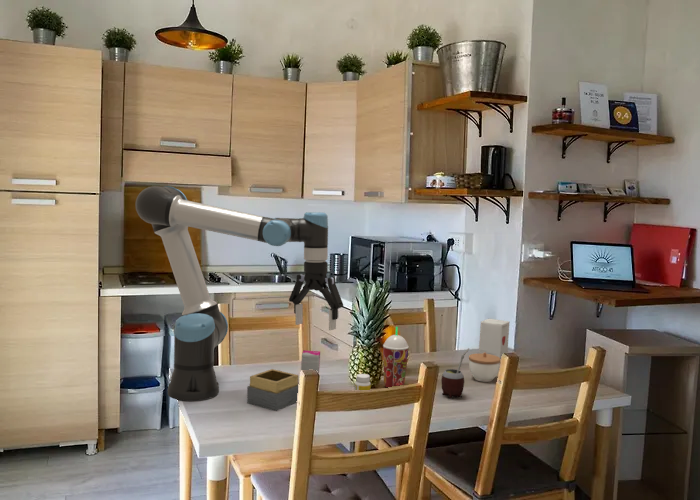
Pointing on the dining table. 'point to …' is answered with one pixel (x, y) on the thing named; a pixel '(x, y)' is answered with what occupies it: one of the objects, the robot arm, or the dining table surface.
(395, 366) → the smoothie
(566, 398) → the dining table surface
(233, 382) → the dining table surface
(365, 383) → the supplement bottle
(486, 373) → the lidded jar
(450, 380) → the mate gourd
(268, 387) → the box
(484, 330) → the supplement box
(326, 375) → the dining table surface
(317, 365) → the supplement box
